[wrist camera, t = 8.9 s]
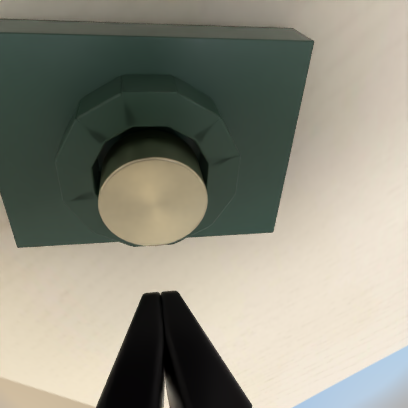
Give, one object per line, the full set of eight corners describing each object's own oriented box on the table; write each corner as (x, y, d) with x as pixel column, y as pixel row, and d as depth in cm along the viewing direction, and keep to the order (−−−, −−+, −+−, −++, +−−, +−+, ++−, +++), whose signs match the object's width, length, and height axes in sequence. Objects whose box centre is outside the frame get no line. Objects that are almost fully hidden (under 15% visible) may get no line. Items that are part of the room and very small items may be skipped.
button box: (293, 28, 15) (337, 53, 12) (261, 206, 20) (285, 258, 17) (-27, 17, 13) (-77, 45, 10) (27, 218, 19) (6, 278, 15)
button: (201, 128, 13) (211, 156, 12) (196, 210, 15) (204, 243, 14) (96, 129, 13) (91, 159, 11) (106, 214, 15) (103, 250, 13)
